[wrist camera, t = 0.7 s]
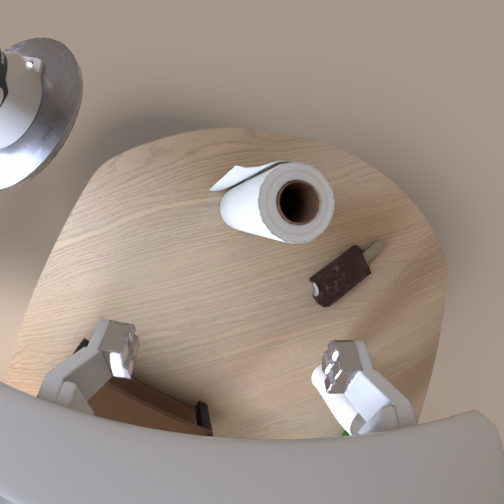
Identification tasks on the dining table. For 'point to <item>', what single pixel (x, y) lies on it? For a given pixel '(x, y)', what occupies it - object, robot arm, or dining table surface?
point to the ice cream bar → (343, 274)
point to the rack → (147, 407)
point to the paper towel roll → (277, 201)
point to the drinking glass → (338, 404)
